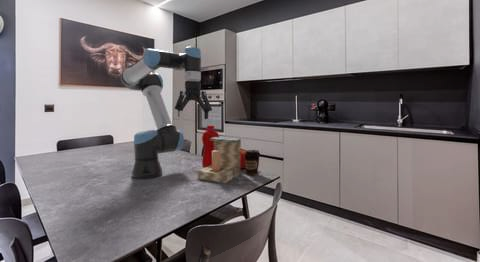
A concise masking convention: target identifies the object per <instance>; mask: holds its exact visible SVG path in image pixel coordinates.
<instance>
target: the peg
mask: <svg viewBox="0 0 480 262" xmlns="http://www.w3.org/2000/svg"><path fill="white" fill-rule="evenodd" d="M212 172H220V151H218V150H214V151H212Z"/></svg>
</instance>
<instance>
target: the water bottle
mask: <svg viewBox="0 0 480 262" xmlns="http://www.w3.org/2000/svg"><path fill="white" fill-rule="evenodd" d="M214 137H220V134H219V133H218V132H217V131H216V130H215V126H214V125H211V124H210V125H207V126H206V130H205V131H204V132H203V133H202V136H201V140H202V147H203V154H202V160H201V165H202V167H203V168H205V167H209V166H210V165H212V151H214V141H210V138H214Z"/></svg>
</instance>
